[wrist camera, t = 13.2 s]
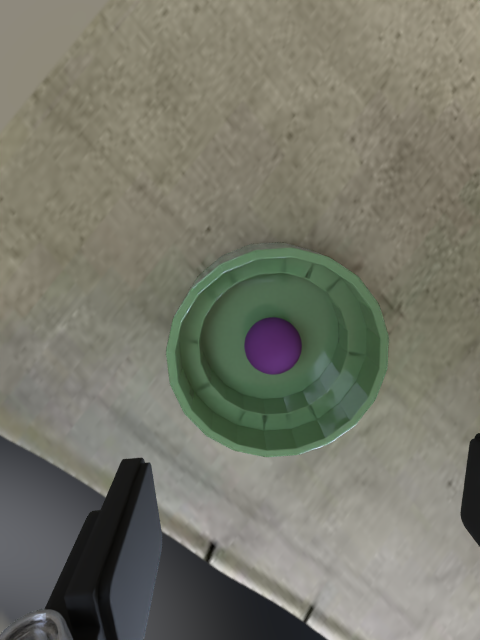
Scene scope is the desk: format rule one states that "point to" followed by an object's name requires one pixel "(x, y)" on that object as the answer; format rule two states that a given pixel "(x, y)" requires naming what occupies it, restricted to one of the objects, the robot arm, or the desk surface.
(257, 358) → the ball
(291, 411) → the green bowl
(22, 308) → the desk surface
